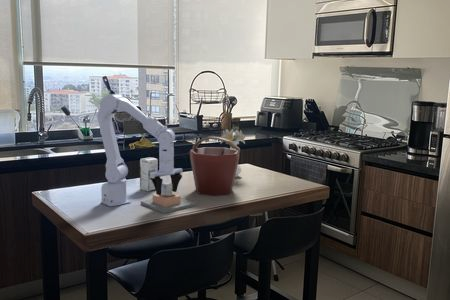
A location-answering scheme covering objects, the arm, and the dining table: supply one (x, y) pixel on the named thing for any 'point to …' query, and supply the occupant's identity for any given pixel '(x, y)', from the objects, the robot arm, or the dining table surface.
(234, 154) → the bucket
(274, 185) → the dining table surface
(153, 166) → the syrup box
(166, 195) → the steel block
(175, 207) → the well board
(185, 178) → the dining table surface
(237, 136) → the flower vase
